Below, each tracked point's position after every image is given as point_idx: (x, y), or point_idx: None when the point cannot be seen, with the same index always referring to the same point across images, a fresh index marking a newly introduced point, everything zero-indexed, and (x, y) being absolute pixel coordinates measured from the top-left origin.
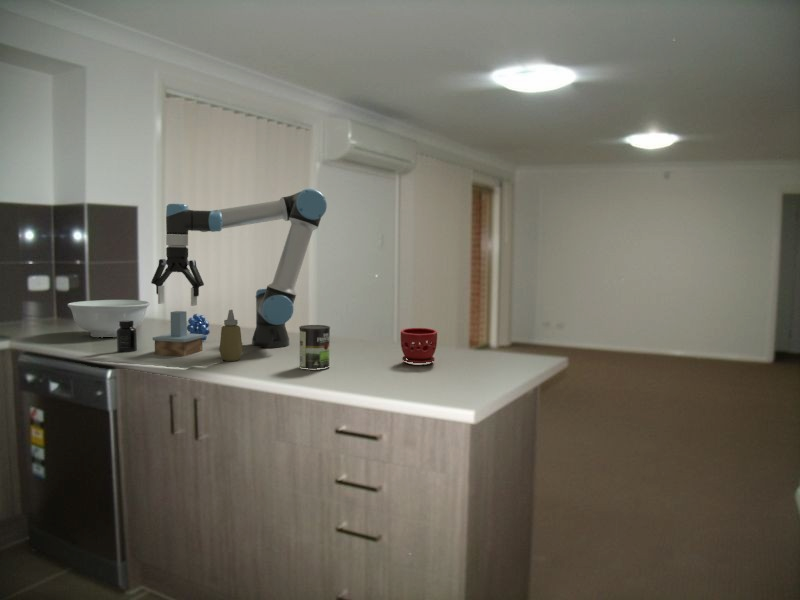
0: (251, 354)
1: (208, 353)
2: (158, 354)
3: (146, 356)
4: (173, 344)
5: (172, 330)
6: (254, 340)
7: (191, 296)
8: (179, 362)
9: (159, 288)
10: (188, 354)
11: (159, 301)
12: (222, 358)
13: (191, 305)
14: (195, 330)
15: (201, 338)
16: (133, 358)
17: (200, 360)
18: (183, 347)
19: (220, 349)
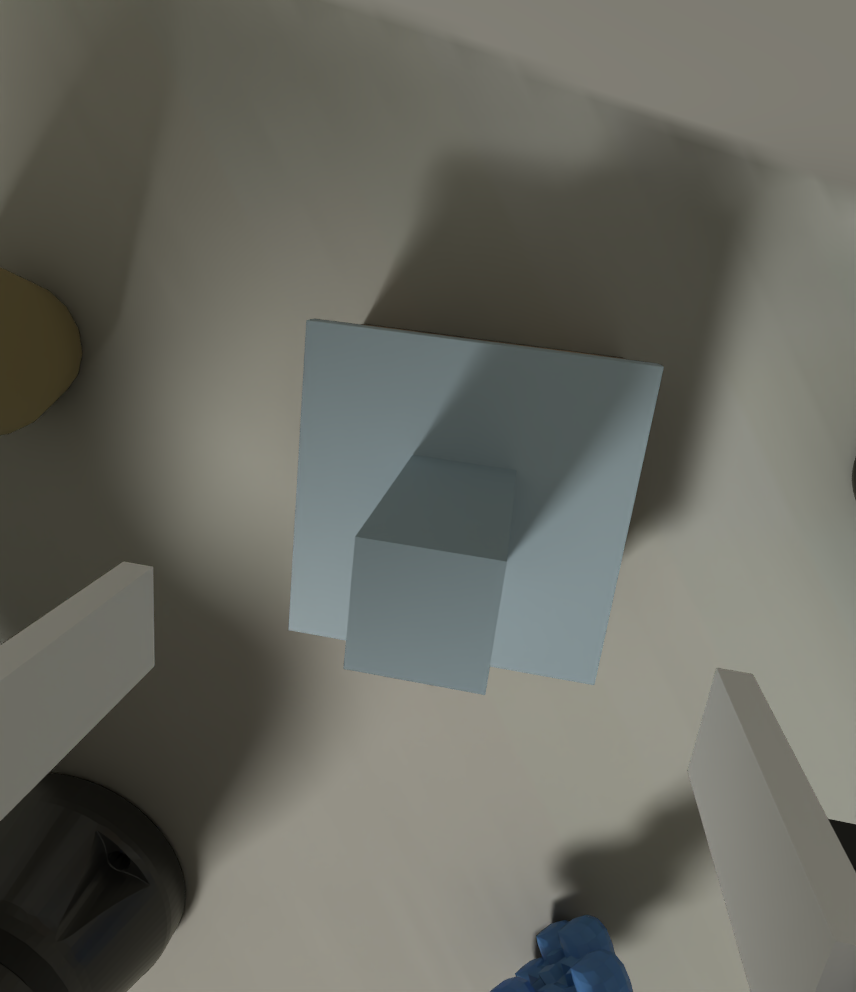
0: (18, 556)
1: None
2: (590, 354)
3: (692, 345)
4: None
5: (495, 484)
6: (112, 836)
7: (48, 634)
8: (319, 161)
9: (821, 887)
10: None
11: (735, 693)
12: (58, 303)
13: (142, 566)
14: (568, 980)
15: None
16: (764, 236)
17: (214, 278)
18: None
19: (12, 285)
